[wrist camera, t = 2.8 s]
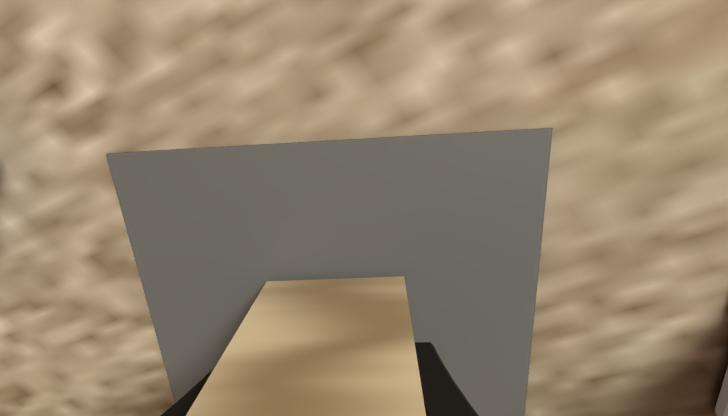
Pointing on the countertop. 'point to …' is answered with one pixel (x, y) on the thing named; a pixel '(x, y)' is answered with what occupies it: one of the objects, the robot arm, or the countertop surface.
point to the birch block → (320, 353)
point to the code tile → (347, 241)
